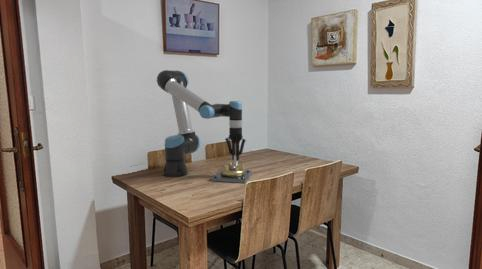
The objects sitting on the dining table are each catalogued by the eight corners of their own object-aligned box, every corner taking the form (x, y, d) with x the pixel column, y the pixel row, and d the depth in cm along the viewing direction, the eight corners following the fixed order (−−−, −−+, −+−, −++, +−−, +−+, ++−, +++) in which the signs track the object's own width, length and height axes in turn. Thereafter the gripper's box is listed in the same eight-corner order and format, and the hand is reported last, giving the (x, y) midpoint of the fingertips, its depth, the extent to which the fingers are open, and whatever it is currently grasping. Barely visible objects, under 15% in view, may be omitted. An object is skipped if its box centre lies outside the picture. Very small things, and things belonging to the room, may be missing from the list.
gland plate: (211, 181, 196) (211, 176, 195) (220, 172, 215) (220, 168, 215) (245, 183, 191) (245, 178, 191) (252, 174, 211) (252, 170, 210)
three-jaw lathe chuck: (217, 176, 198) (217, 165, 197) (224, 170, 211) (224, 160, 210) (241, 177, 195) (241, 166, 194) (246, 171, 208) (246, 161, 207)
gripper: (248, 126, 205) (247, 165, 209) (227, 125, 210) (228, 163, 213) (243, 128, 198) (243, 168, 202) (223, 127, 203) (223, 166, 206)
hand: (235, 165), depth 207 cm, fingers closed
